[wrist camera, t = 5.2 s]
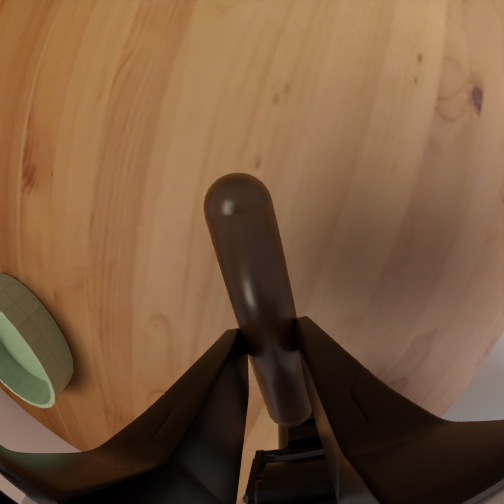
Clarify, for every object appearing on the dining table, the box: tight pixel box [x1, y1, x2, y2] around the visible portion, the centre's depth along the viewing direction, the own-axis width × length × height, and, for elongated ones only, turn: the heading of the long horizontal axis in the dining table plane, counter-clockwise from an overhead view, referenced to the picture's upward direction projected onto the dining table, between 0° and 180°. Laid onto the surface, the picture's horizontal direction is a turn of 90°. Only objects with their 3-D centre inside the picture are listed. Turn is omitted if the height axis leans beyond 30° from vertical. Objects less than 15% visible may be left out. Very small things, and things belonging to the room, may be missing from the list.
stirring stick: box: [204, 173, 312, 427], centre depth 9 cm, size 10×2×2 cm, turn 14°
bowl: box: [0, 273, 74, 408], centre depth 21 cm, size 15×15×4 cm
